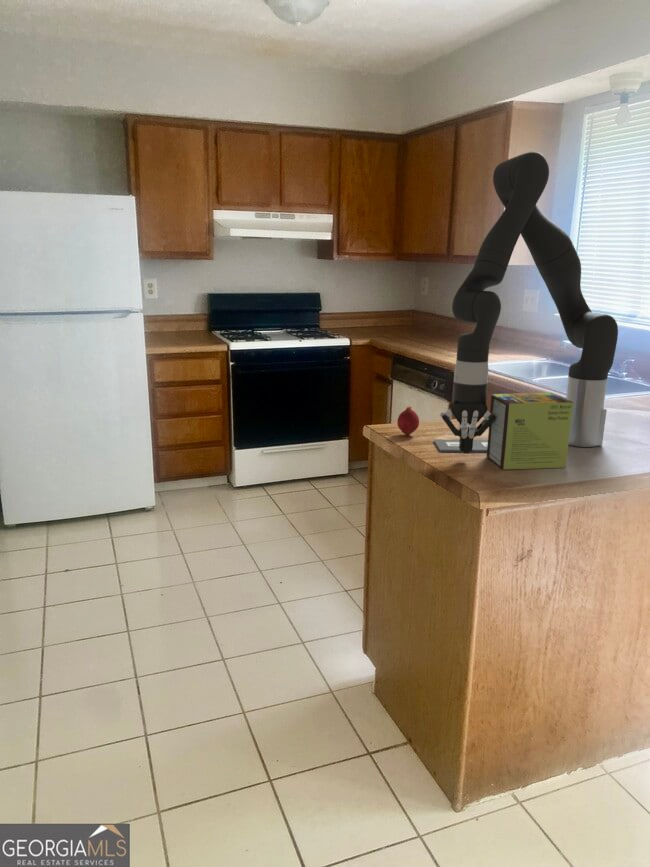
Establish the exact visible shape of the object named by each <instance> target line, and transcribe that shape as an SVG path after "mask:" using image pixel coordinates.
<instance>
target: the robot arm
mask: <svg viewBox="0 0 650 867" xmlns="http://www.w3.org/2000/svg"><path fill="white" fill-rule="evenodd" d="M493 170H494V171H493V175H492V182H493V187H494V189H495V190H494V191H495V192H496V195H497V197H498V198H499V200H500V202H501V204H502V205H503V206H504V208H505V209H504V210H503V212H502V213H501V215H500V216H499V218H498V219H497V221H496V222H495V223H494V224H493V226H492V227H491V229H490V230H489V232H488V233H487V234H486V236H485V238H484V240H483V241H482V244H481V245H480V248H479V250H478V253H477V256H476V259H475V261H474V264H473V268H472V269H471V271H470V272H469V273H468V275H467V276H466V278H465V279H464V281H463V282H462V283H461V285H460V286H459V288H458V290H457V291H456V292H455V294H454V297H453V300H452V304H451V310H452V314H453V316H454V318H455V319H456V320H458V321H460V322H464V323H473V324H476V326H475V328H474V329H473V332H468V333H467V332H466V333H462V334H460V335H459V336H458V339H457V350H456V361H455V367H454V374H453V376H454V377H453V389H452V400H451V401H452V402H451V404H450V405H449V409H448V410H446V411H445V412H441V413H440V418H442V420H443V421H444V422H445V424H446V426H447V427H448V428H449V429H450V430H449V431H451V432H452V434H453V435H454V436H455V437H459V440H460V442H459V449H460V450H461V451H462V452H461V453H462V454H467V455H469V454H470V453H471V452H470V451H472V448H473V440H475V439H474V438H476V437H481V436H482V435H484V433H485V432H486V430H488V429H489V426H490V425H491V424H492V423H493V422H494V420H495V419H496V417H495V416H494V415H493V414H492V413H490V410H488V406H487V394H488V381H489V357H490V356H489V354H490V344H491V340H492V337H493V334H494V332H495V329H496V326H497V323H498V321H499V318H500V314H501V311H502V303H501V300H500V297H499V295H498V294H497V293H496V292H494V291H491V290H486V289H487V288H490V287H494V286H495V287H496V286H498V285H500V284H501V283H502V282H503V280H504V278H505V275H506V272H507V269H508V266H509V263H510V261H511V257H512V255H513V253H514V249H515V247H516V245H517V242H518V239H519V238H520V236H521V237H522V239H523V241H524V242H525V245H526V247H527V249H528V251H529V253H530V256H531V257H532V261H533V262H534V264H535V266H536V269H537V270H538V273H539V274H540V277H541V278H542V280H543V282H544V283H545V286H546V288H547V291H548V292H549V294H550V297H551V299H552V300H553V302H554V304H555V306H556V309H557V311H558V312H557V313H558V315H559V317H560V320H561V324H562V327H563V329H564V333H565V335H566V337H567V339H568V341H569V342H570V343H571V344H572V345H573V346H574V347H576V348H579V349H582V351H581V356H580V358H579V360H578V361H577V362H574V363H572V364H570V366H569V368H568V374H567V375H568V377H567V385H566V392H565V393H566V394H565V399H567V400H570V401H572V402H573V409H572V418H571V426H570V435H569V444H568V446H574V447H580V448H581V447H582V448H593V447H597V446H603V441H604V434H605V428H606V427H605V425H606V419H607V418H606V417H607V412H608V411H607V408H606V407H605V399H606V391H607V383H608V377H609V372H610V371H611V369H612V368H613V367H612V366H613V364H614V360H615V354H616V349H617V344H618V337H619V326H618V323H617V321H616V319H615V318H614V317H612V315H610V314H607V313H599V312H593V311H592V310H591V308H590V307H589V306H588V304H587V301H586V299H585V297H584V295H583V291H582V288H581V283H582V282H581V281H582V280H581V279H582V263H581V259H580V256H579V254H578V252H577V250H576V247H575V246H574V244H573V241H572V239H571V238H570V236H569V235H568V234H567V233H566V231H565V230H563V229H562V228H561V227H560V226H559V225H558V224H556V223H555V222H554V221H552V220H551V219H550V218H548V217H547V216H546V215H545V214H544V213H543V212H542V211H541V209H540V208H539V207H538V205H537V203H538V201H539V200H540V198H541V196H542V194H543V193H544V190H545V189H546V186H547V184H548V181H549V176H550V167H549V163H548V161H547V159H546V158H545V156H544V155H543V154H542V153H540V152H538V151H528V152H524V153H522V154H519V155H517V156H512V157H511V158H509V159H505V160H503V161H502V162H500V163H498V165H496V167H495V168H494V169H493ZM452 415H453V416H452ZM453 417H454V418H455V419H456V421H457V422H458V428H459V429H457V428H456V426H455V425H454V423H453V422H452V420H453ZM482 418H483V420H482V421H481V422H480V420H481V419H482ZM479 422H480V423H479ZM478 423H479V424H478ZM477 424H478V425H477Z"/></svg>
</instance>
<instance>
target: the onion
mask: <svg viewBox="0 0 650 867" xmlns="http://www.w3.org/2000/svg"><path fill="white" fill-rule="evenodd" d="M396 423H397V428H398V429H399V430H400V431H401V432H402V434H404V435H405V436H410V435H411V434H413V433H414V432H416V431H417V429H419V425H420V418H419V415H418V414H417V412H415V411H414V410H413V409H412V406H411V405H408V406H407V407H406V409H404V410H403V411H402V412H400V414H399V415H398V418H397V420H396Z"/></svg>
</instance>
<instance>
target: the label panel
mask: <svg viewBox="0 0 650 867" xmlns="http://www.w3.org/2000/svg"><path fill="white" fill-rule="evenodd" d="M459 442H460V439H436V438H435V439H433V443H434V445H436V448H437V449H438V452H440V453H462V451H461V450H460V449H459ZM487 446H488V439H473V448H472V451H470V453H487Z"/></svg>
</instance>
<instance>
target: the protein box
mask: <svg viewBox="0 0 650 867" xmlns="http://www.w3.org/2000/svg"><path fill="white" fill-rule="evenodd" d="M572 409H573V402H572V401H570V400H567V399H566V397H562V396H561V395H558V394H555V393H553V392H526V393H523V392H521V393H495V394H491V397H490V409H489V412H490V413H492V414H493V415H494V416H495V417H496V419H495V420H494V422H493V423H492V424H491V425H490V426H489V427H488V433H487V440H488V446H487V452H486V457H487V459H489V460H491V461H492V462H493V463H494V464H496V465H497V466H498V467H499V468H500V469H502V470H529V469H530V470H531V469H536V470H537V469H557V468H558V469H559V468H560V469H561V468H563V469H564V468H567V460H568V451H569V445H568V444H569V435H570V426H571V418H572Z"/></svg>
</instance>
